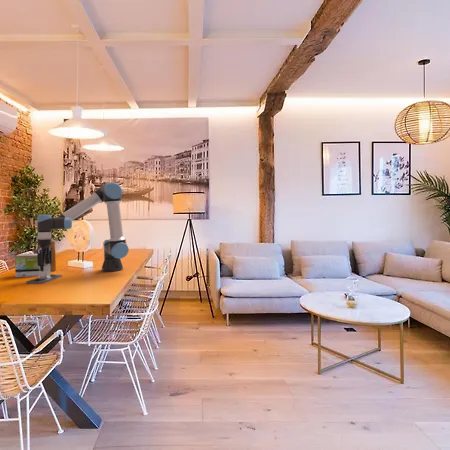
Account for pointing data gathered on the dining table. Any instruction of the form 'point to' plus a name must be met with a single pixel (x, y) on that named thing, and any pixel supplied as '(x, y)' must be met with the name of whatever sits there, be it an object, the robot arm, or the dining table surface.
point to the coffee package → (53, 265)
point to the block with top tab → (46, 272)
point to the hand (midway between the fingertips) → (45, 275)
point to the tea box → (26, 265)
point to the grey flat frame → (43, 280)
